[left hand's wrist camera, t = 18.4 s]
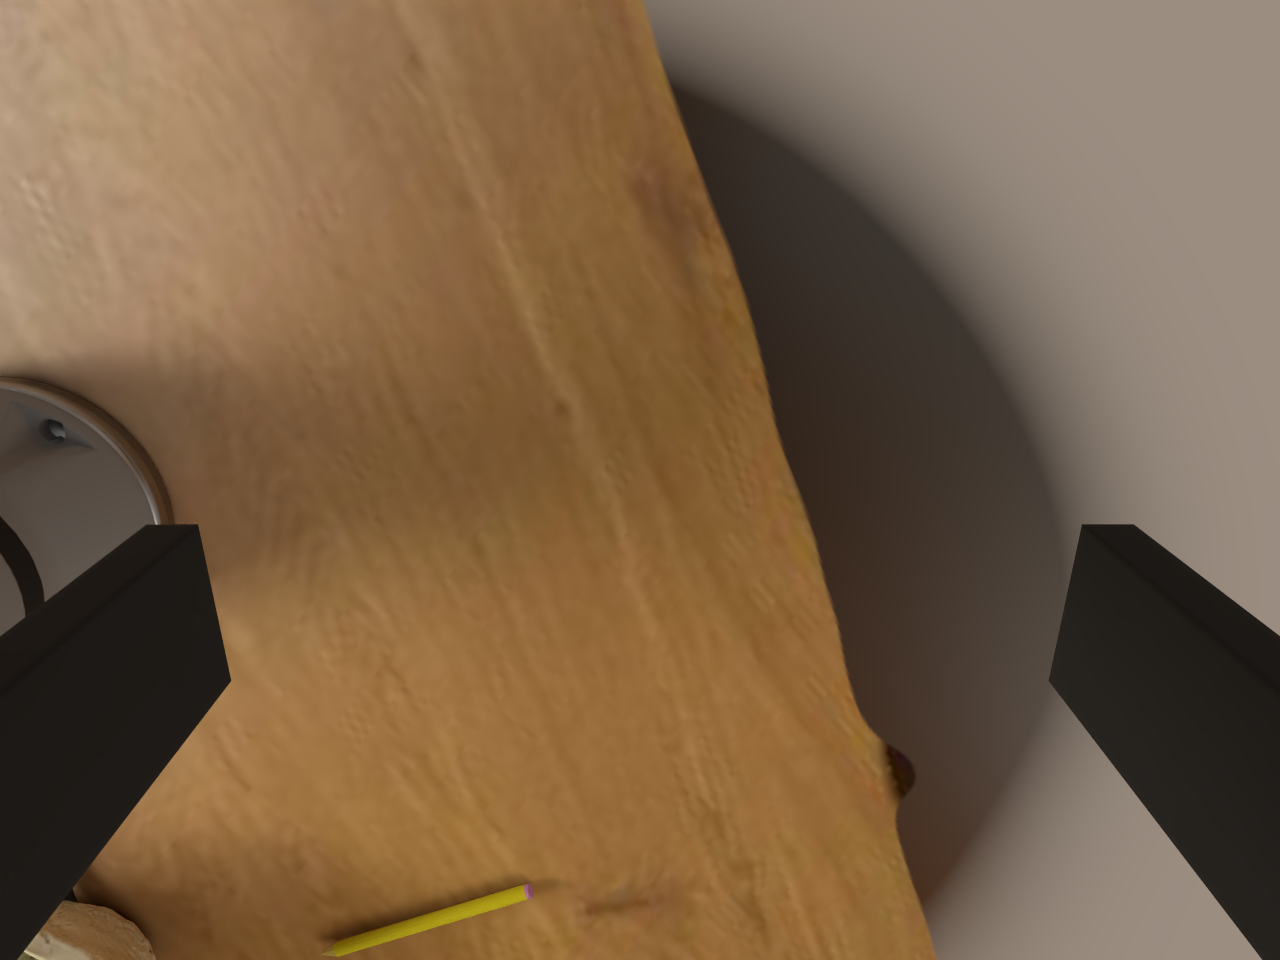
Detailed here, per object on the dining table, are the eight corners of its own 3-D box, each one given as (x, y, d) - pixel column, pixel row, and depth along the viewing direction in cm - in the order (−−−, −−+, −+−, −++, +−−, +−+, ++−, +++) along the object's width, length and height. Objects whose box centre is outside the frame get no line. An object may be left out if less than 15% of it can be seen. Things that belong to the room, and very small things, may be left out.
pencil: (528, 879, 58) (526, 891, 57) (534, 889, 58) (532, 901, 57) (318, 943, 60) (313, 956, 59) (325, 952, 61) (320, 965, 60)
